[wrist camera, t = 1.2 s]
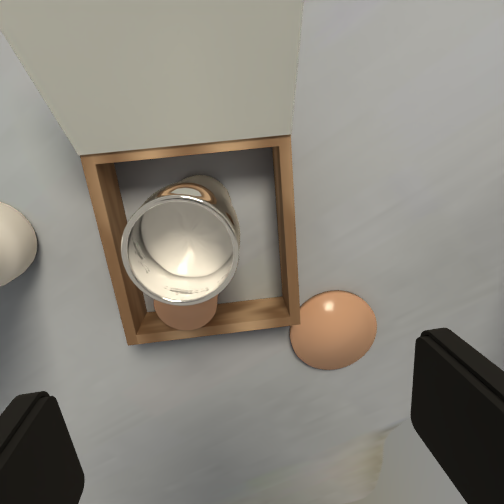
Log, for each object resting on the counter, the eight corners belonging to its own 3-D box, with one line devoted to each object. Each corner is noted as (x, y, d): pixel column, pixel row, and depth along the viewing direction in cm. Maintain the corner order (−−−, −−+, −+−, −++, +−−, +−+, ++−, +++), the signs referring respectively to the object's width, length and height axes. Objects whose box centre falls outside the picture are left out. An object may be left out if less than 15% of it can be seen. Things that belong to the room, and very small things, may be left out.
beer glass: (196, 252, 34) (174, 330, 20) (150, 199, 32) (88, 243, 18) (249, 212, 33) (267, 263, 19) (206, 154, 31) (188, 163, 17)
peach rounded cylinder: (215, 249, 34) (212, 270, 28) (221, 297, 36) (220, 326, 30) (161, 255, 34) (148, 277, 28) (170, 303, 36) (160, 333, 30)
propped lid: (270, -50, 26) (332, -325, 11) (281, 135, 31) (336, 127, 15) (57, -34, 26) (-201, -302, 10) (100, 153, 30) (-33, 163, 15)
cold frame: (281, 133, 31) (290, 131, 27) (292, 303, 37) (300, 324, 32) (100, 151, 30) (79, 152, 26) (139, 321, 36) (127, 345, 32)
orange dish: (375, 285, 37) (378, 288, 36) (372, 359, 40) (375, 364, 39) (287, 295, 36) (288, 299, 35) (291, 370, 39) (293, 374, 39)
